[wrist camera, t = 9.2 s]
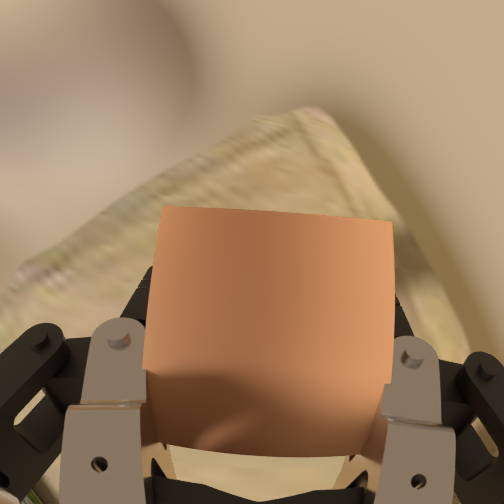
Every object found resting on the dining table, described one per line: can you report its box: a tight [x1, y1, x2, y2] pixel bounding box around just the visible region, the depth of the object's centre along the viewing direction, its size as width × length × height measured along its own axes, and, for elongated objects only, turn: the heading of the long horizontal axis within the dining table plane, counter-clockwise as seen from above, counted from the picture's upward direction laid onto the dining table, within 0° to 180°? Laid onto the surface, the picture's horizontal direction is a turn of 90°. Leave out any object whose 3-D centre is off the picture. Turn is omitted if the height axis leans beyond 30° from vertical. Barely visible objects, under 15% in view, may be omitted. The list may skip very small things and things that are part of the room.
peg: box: [142, 206, 395, 457], centre depth 10 cm, size 4×4×9 cm
